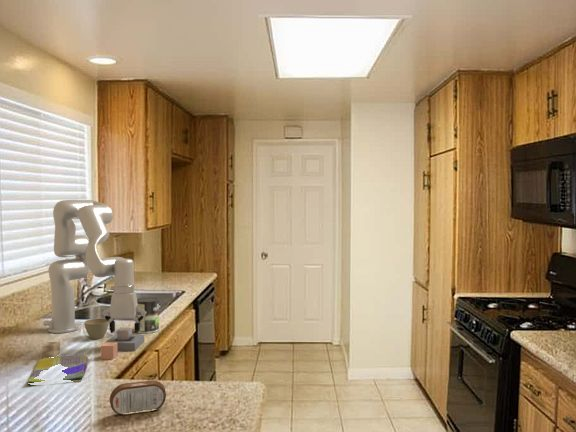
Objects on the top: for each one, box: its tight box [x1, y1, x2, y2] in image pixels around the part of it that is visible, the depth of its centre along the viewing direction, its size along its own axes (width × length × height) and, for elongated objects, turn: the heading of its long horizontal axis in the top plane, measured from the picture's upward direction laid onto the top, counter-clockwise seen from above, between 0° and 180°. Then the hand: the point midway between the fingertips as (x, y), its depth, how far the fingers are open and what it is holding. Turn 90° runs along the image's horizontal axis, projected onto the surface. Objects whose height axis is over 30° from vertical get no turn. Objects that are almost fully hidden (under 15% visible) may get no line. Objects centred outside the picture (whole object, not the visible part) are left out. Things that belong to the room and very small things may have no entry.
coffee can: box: [136, 296, 160, 334], centre depth 226 cm, size 10×10×14 cm
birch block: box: [41, 341, 61, 359], centre depth 188 cm, size 4×4×5 cm
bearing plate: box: [105, 334, 145, 352], centre depth 202 cm, size 12×12×3 cm
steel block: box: [116, 326, 133, 341], centre depth 202 cm, size 4×4×6 cm
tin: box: [109, 379, 167, 415], centre depth 140 cm, size 15×3×8 cm, turn 111°
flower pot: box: [83, 317, 109, 340], centre depth 214 cm, size 10×10×7 cm
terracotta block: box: [100, 341, 119, 360], centre depth 188 cm, size 4×4×5 cm
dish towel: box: [26, 353, 90, 385], centre depth 172 cm, size 18×24×3 cm
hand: (124, 332), depth 202 cm, fingers open, 9 cm apart
